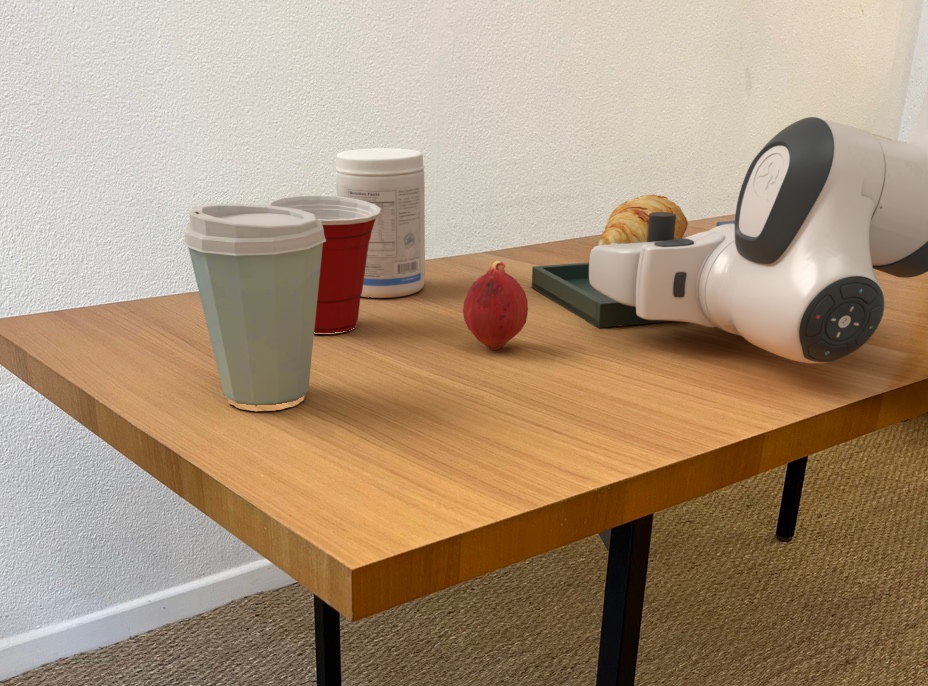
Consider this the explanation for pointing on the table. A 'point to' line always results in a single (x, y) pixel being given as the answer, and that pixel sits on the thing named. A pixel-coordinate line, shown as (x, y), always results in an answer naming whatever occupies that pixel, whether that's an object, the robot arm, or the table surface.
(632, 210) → the croissant
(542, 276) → the tray
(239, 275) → the disposable coffee cup
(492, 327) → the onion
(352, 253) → the plastic cup
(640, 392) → the table surface
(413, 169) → the supplement tub
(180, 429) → the table surface
